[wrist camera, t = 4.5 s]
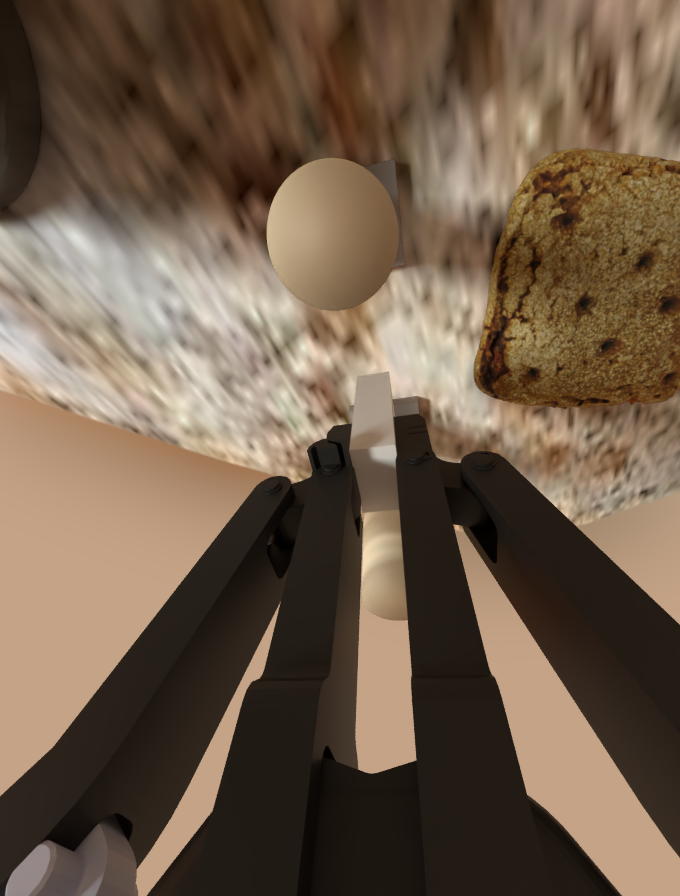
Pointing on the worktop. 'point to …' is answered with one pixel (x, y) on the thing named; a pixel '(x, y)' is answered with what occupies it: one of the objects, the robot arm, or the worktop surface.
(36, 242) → the worktop surface
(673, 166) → the pastry
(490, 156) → the worktop surface
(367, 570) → the post
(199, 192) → the worktop surface
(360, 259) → the post
